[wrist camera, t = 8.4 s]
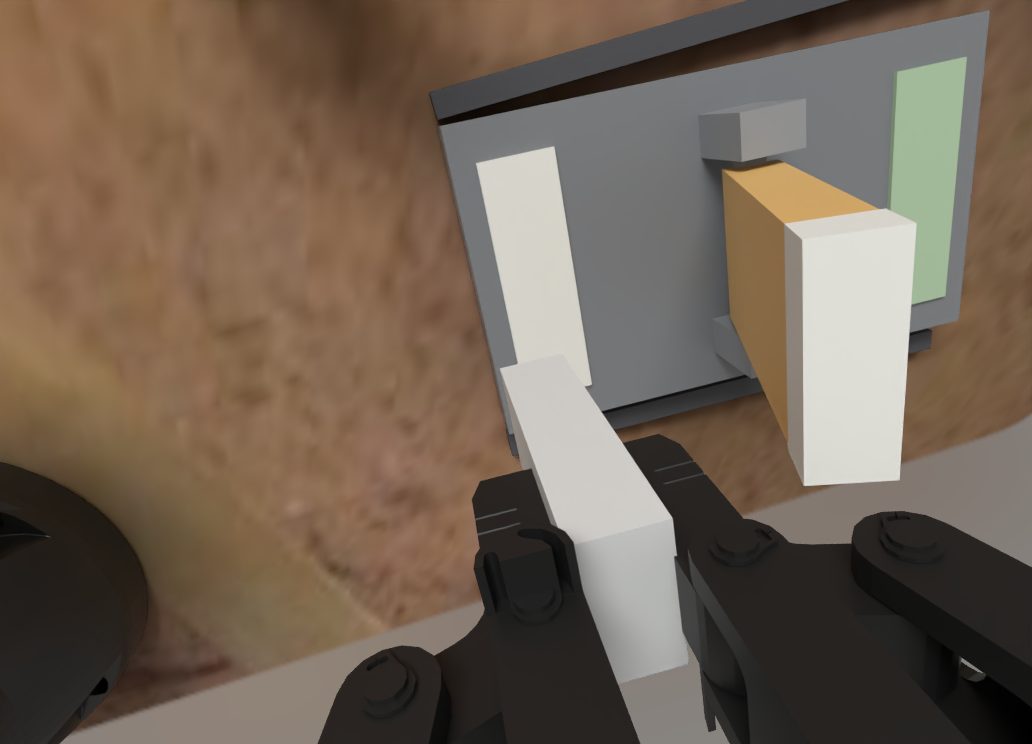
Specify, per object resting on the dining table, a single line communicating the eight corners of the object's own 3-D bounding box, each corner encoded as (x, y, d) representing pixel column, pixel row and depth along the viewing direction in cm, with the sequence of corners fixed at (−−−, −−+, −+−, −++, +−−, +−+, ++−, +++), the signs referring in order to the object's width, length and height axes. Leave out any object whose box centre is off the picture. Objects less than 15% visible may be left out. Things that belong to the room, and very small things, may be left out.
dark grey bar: (437, 120, 24) (438, 119, 23) (429, 93, 24) (429, 91, 23) (942, -28, 25) (962, -34, 25) (942, -55, 25) (963, -62, 24)
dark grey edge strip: (509, 446, 30) (512, 456, 29) (505, 428, 30) (508, 438, 29) (915, 342, 32) (930, 348, 31) (916, 324, 32) (931, 330, 31)
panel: (501, 410, 30) (522, 471, 24) (437, 126, 24) (445, 125, 19) (918, 306, 31) (1020, 341, 26) (938, 20, 26) (1071, -7, 21)
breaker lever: (727, 316, 26) (804, 491, 15) (718, 161, 24) (802, 232, 12) (779, 309, 26) (898, 485, 14) (775, 151, 23) (917, 215, 12)
